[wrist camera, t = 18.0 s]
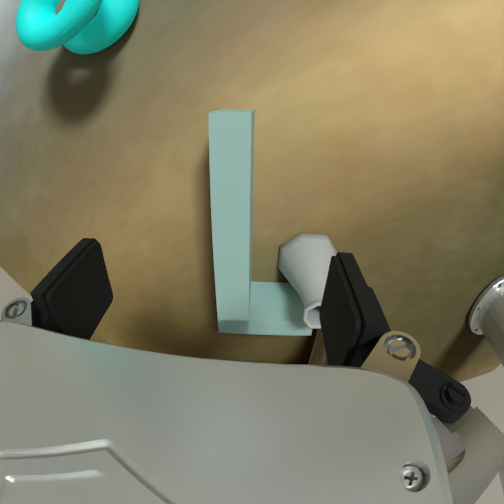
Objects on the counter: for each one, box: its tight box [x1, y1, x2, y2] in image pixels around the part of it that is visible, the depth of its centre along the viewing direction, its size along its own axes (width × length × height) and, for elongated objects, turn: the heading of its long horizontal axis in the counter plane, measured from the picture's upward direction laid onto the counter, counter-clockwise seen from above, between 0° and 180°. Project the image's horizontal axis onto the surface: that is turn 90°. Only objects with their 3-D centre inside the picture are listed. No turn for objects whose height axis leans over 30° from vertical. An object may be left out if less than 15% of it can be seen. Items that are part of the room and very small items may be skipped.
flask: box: [278, 233, 338, 329], centre depth 30 cm, size 7×7×10 cm
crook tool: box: [209, 109, 312, 335], centre depth 28 cm, size 10×22×7 cm, turn 179°
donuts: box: [16, 0, 139, 54], centre depth 16 cm, size 10×10×10 cm
